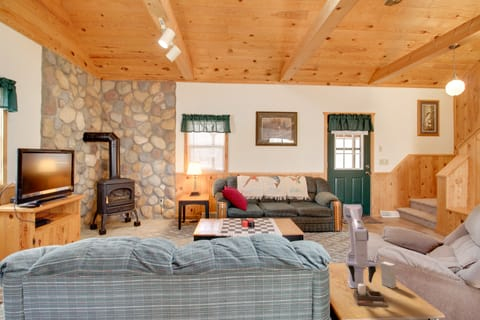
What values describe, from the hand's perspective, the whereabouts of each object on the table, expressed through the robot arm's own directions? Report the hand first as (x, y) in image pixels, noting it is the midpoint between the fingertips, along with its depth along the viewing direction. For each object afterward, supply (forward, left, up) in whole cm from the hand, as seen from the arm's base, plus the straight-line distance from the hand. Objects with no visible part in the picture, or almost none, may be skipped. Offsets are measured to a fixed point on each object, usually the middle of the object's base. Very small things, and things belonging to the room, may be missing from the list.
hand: (361, 281), depth 138 cm
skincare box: (-18, +18, -9) cm, 27 cm away
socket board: (+1, +3, -9) cm, 9 cm away
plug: (0, 0, -8) cm, 8 cm away
